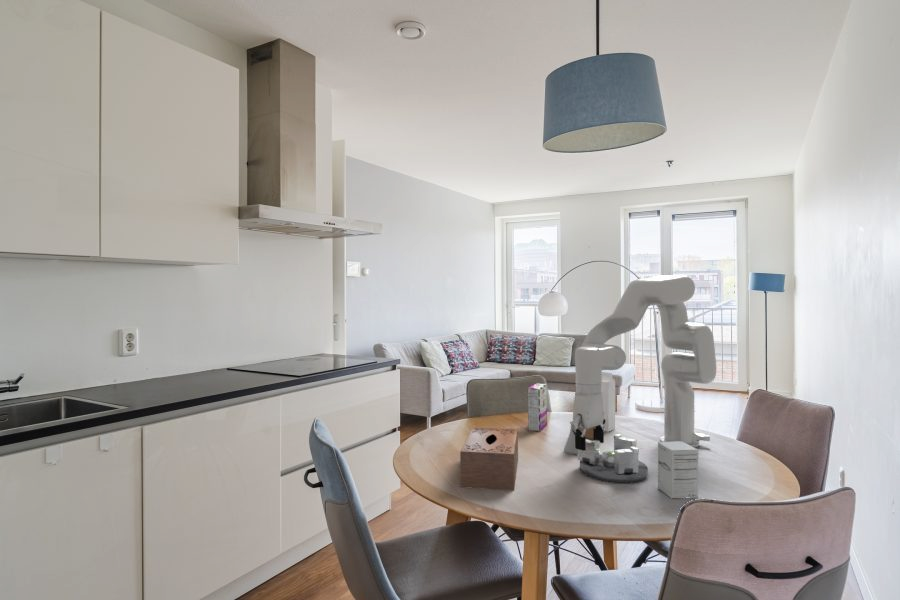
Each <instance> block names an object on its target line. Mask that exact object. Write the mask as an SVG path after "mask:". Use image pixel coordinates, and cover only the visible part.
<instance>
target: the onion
mask: <svg viewBox="0 0 900 600" xmlns="http://www.w3.org/2000/svg"><path fill="white" fill-rule="evenodd" d="M581 426H583V425H581ZM593 428H595V427H593ZM593 428H590V429H587V430H586V432H585V435H584V437H586V439H587V440H590V441H594V436H593ZM579 430H580V431H581V432H582V429H579Z"/></svg>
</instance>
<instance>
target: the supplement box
mask: <svg viewBox="0 0 900 600" xmlns="http://www.w3.org/2000/svg"><path fill="white" fill-rule="evenodd" d="M657 489H658V490H660V491H662V492H663V493H664V494H665V495H667V496H668V497H669V498H670V499H672V498H683V499H687V498H686V497H691V498H690V499H698V498H699V449H698V448H697V447H696V448H694V447H692V446H690V445H688V444H686V443H684V442H682V441H674V442H660V441H658V442H657Z"/></svg>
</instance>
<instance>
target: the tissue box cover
mask: <svg viewBox="0 0 900 600" xmlns="http://www.w3.org/2000/svg"><path fill="white" fill-rule="evenodd" d="M459 451H460V452H459V454H460V457H459V459H460V461H459V463H460V466H459V467H460V470H459V471H460V480H459V481H460V488H464V487H472V488H471V489H480V488H484V489H483V490H496V489H498V490H497V491H499V490H501V491H513V492H514V491H515V487H516V486H515V485H516V478H517V471H518V463H519V428H510V427H509V428H507V427H483V426H482V427H481V426H479V427H478V426H472V427H471V429H470V432H469V433H468V435H467V437H466V439H465V441H464V443H463V445H462V447H461V450H459Z"/></svg>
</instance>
